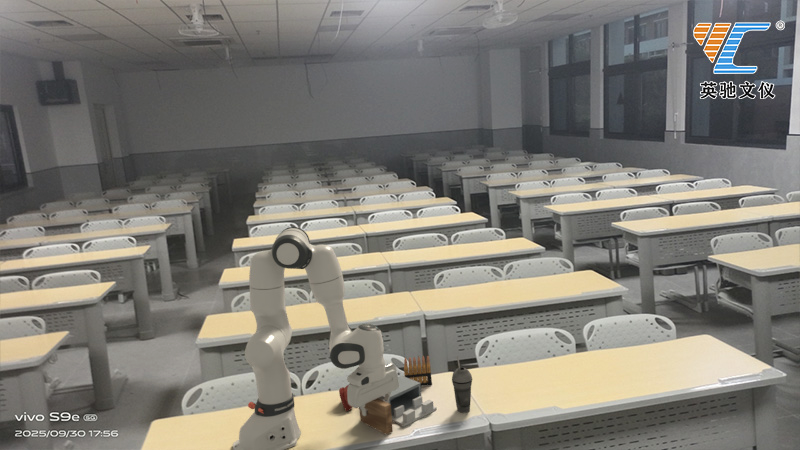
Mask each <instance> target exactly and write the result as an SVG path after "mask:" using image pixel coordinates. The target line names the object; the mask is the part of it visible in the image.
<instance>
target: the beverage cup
mask: <svg viewBox="0 0 800 450" xmlns="http://www.w3.org/2000/svg"><path fill="white" fill-rule="evenodd" d="M456 360H457V366H458V368H457V369H455V370H454V371H453V373H452V376H451V383H452V386H453V391H454V398H455V399H454V400H455V405H456V411H457V412H458V413H461V414H466V413H469V412H470V411H471V397H472V396H471V395H472V384H473V377H472V373H471V372H470V370H468V369H467V368H465V367H461V366H460V365H461V364H460V359H459V356H458V355H457V356H456Z"/></svg>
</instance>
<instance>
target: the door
mask: <svg viewBox="0 0 800 450" xmlns="http://www.w3.org/2000/svg"><path fill="white" fill-rule="evenodd" d="M364 408H365V409H367V410H368V415H366V416H363V415H362V410H361V409H360V408H359V407H358V409H359V419H360V423H363V424H365V425H367V426H369V427H371V428H372V429H375V430H377V431H379V432H381V433H383V434H385V435H389V434H391V433H393V432H394V431H393V430H394V429H393V421H392V415H391V404H389V403H387V402H385V401H383V400H380V399H378V398H377V399H375V400H373V401H371V402H369V403H366V404H365V407H364Z"/></svg>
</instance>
